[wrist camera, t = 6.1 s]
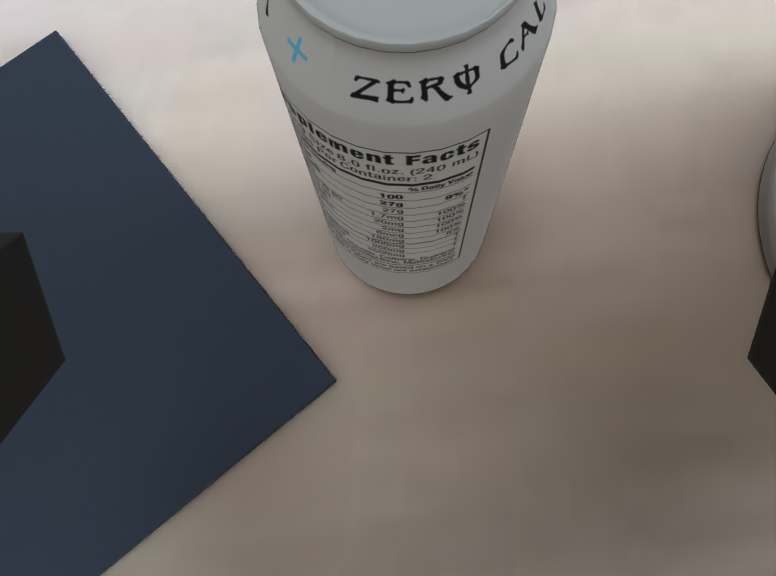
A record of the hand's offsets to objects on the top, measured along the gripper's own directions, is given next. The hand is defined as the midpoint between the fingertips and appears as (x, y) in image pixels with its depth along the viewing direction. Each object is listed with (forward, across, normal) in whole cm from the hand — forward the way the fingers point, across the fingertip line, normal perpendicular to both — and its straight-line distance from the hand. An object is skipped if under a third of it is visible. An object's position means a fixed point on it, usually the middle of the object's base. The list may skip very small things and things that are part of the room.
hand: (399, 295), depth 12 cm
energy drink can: (+14, 0, -5) cm, 15 cm away
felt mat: (+12, -14, -7) cm, 20 cm away
